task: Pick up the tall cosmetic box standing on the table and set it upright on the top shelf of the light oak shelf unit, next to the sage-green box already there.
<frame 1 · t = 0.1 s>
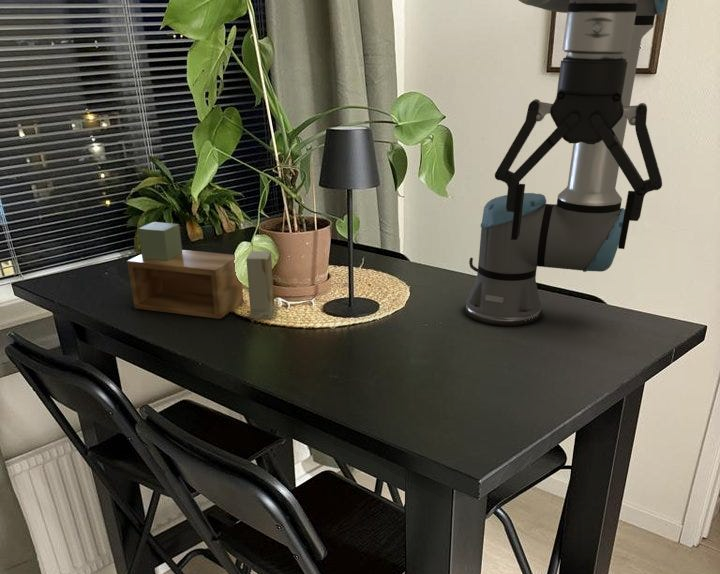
hand: (567, 242, 99), 28 cm above the table, tool pointing down, fingers open, 13 cm apart
shelf: (189, 305, 160), on the table
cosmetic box: (263, 314, 156), on the table
sage box: (162, 255, 156), point 10 cm above the table, touching shelf
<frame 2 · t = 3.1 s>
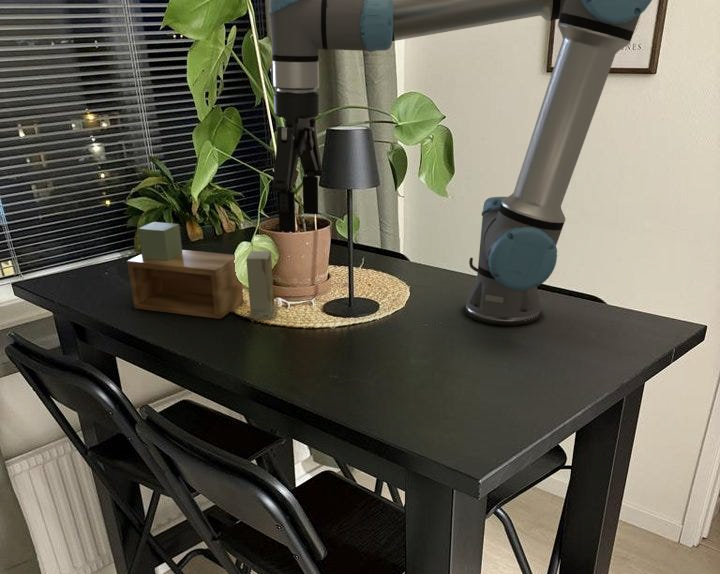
hand: (299, 222, 136), 21 cm above the table, tool pointing down, fingers open, 13 cm apart
nothing on the table moved.
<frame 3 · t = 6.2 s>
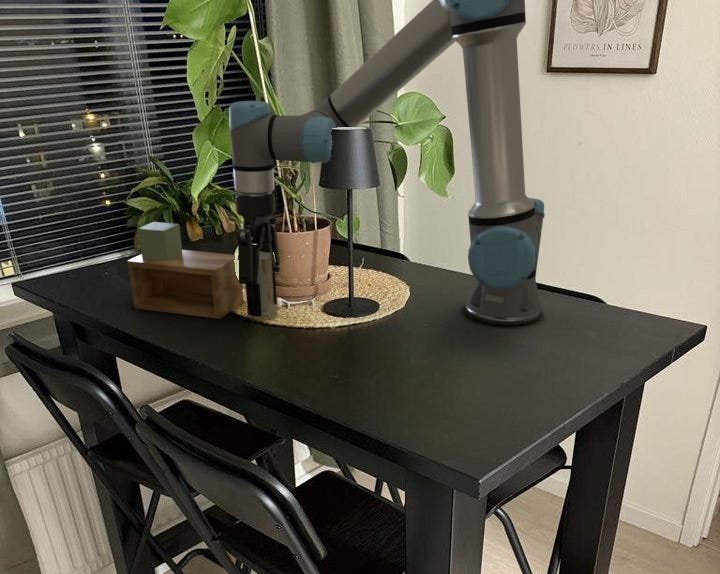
hand: (262, 309, 155), 1 cm above the table, tool pointing down, fingers closed on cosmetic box, 7 cm apart
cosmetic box: (263, 314, 156), on the table, touching gripper
everything else where it was.
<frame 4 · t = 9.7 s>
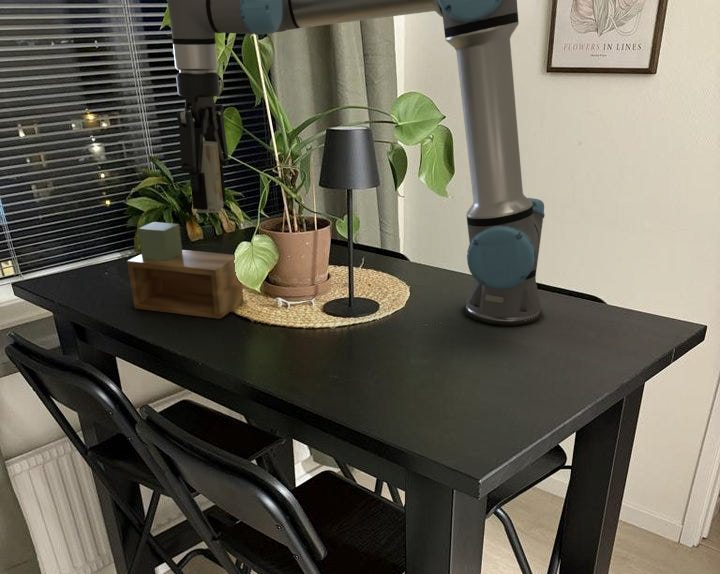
hand: (209, 204, 147), 21 cm above the table, tool pointing down, fingers closed on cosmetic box, 7 cm apart
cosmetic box: (210, 211, 148), point 20 cm above the table, touching gripper
everything else where it was.
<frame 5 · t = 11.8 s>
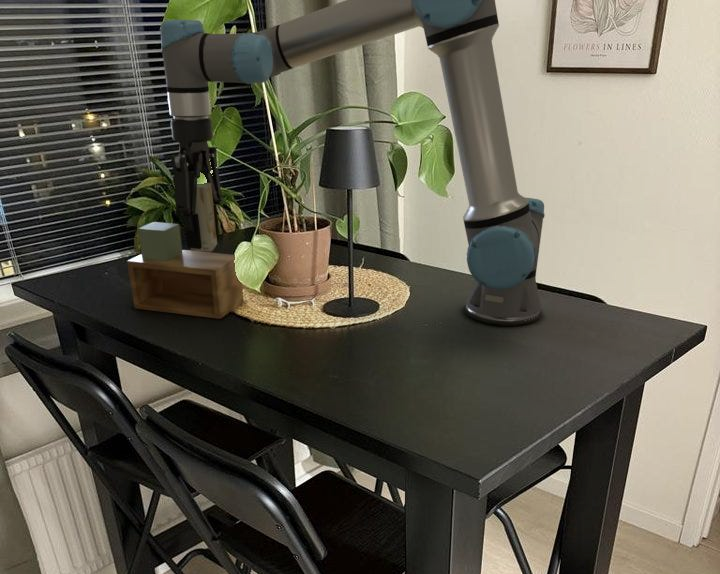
hand: (203, 242, 152), 14 cm above the table, tool pointing down, fingers closed on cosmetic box, 7 cm apart
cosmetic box: (204, 248, 153), point 12 cm above the table, touching gripper
everything else where it was.
when the fingers open (11 cm above the table, at t = 13.0 s): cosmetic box stays where it is, resting on shelf.
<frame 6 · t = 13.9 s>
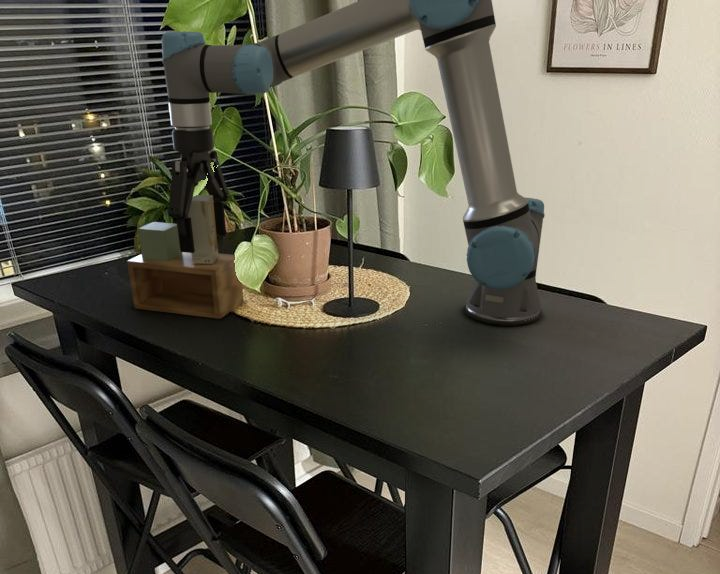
hand: (204, 243, 152), 13 cm above the table, tool pointing down, fingers open, 13 cm apart
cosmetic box: (206, 261, 154), point 10 cm above the table, touching shelf
everything else where it was.
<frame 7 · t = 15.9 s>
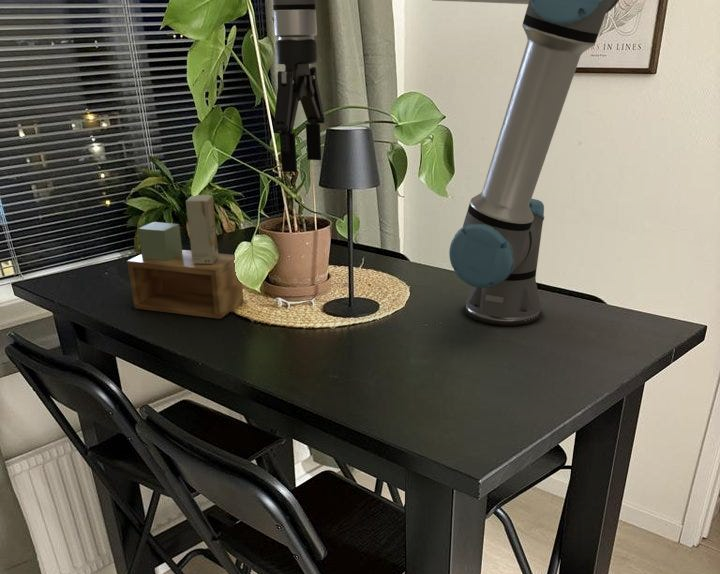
hand: (302, 165, 146), 28 cm above the table, tool pointing down, fingers open, 13 cm apart
nothing on the table moved.
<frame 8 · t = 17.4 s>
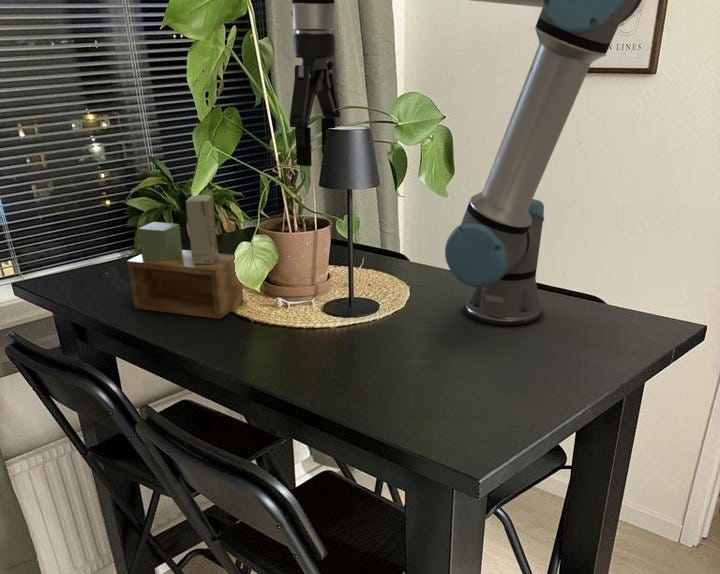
hand: (317, 159, 146), 29 cm above the table, tool pointing down, fingers open, 13 cm apart
nothing on the table moved.
at the end: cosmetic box inside the target area on the shelf (0.3 cm from its centre), point 9.8 cm above the shelf's base; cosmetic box tilted 0°; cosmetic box 10.0 cm from the sage box (horizontally) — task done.
